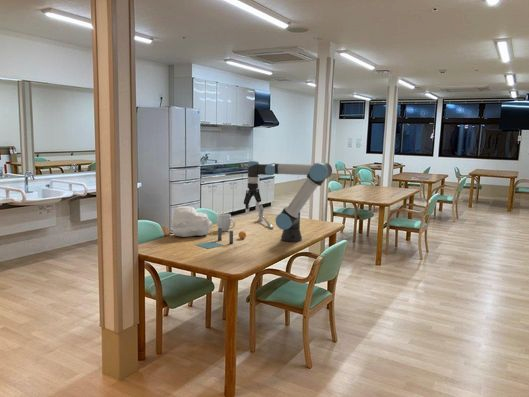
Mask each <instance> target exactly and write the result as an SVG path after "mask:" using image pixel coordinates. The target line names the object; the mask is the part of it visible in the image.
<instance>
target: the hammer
mask: <svg viewBox="0 0 529 397" xmlns="http://www.w3.org/2000/svg"><path fill="white" fill-rule="evenodd" d="M264 210H265V208H264V207H263V203H260V204H259V211H258V215H257V217H258V219H257V222H265V223H266V225H267V227H268V228H269V230H274V226H273V225H272V223H270V222H269V221H268V219H267V218H266V216H265V215H264Z"/></svg>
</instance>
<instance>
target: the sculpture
mask: <svg viewBox="0 0 529 397" xmlns="http://www.w3.org/2000/svg"><path fill="white" fill-rule="evenodd" d="M211 227H213V222H212V221H211V220H210V219H209V217H208V214H206V213H205V212H201V211H197V210H196V208H194V207H193V206H190V205H187V206H186V205H185V206H183V205H182V206H178V207H176V208H175V209H174V210H173V214H172V220H171V228H172V233H173V235H174V236H176V237H182V238H188V237H195V236H200V237H201V236H205V235H208V234H209V232H210V228H211Z"/></svg>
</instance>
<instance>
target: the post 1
mask: <svg viewBox="0 0 529 397" xmlns="http://www.w3.org/2000/svg"><path fill="white" fill-rule="evenodd" d="M222 239H223V238H222V228H218V227H217V241H218V242H221V241H222Z"/></svg>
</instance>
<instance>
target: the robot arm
mask: <svg viewBox="0 0 529 397" xmlns="http://www.w3.org/2000/svg"><path fill="white" fill-rule="evenodd" d="M332 173H333V168H332V165H330V163H329V162H325V161H324V162H323V161H322V162H314V163H313V164H309V163H308V164H307V163H306V164H303V163H301V164H300V163H276V162H275V163H274V162H273V163H264V164H263V163H261V164H260V163H259V161H257V160H249V161H248V163H247V190H246V191H245V196H244V200H243V204H244V205H245V208H244V209H245V214H248V215H249V214H250V202H251V200H252V197H254V200H255V211H256V212H259V207H260V203H261V202H262V197H261V194H260V189H259V176H260V175H261V176H274V175H291V176H293V175H294V176H295V175H296V176H306V180H305V182H304V183H303V185H302V186H301V187H300V188H299V190H298V192H296V195H295V196H294V197H293V198H292V200H291V201H290V203H289V204H288V206H284V208H283V209H282V210H281V212H280V213H278V214H277V215H276V217H275V224H276V227H277V228H278V229H280V230H281V231H282V233H281V236H280V240H282V241H283V242H292V243H294V242H295V243H296V242H297V243H298V242H301V241H302V240H303V236H302V233H301V230H300V228H301V211H302V209H303V207H304V206H305V205H306V203H307V202H308V201H309V199H310V197H311V196H312V195H313V193H314V192H315V191H316V189H317V188H318V187H321V186H322V184H323V183H324V182H325V180H326V179H329V178H330V177H331V176H332Z"/></svg>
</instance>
